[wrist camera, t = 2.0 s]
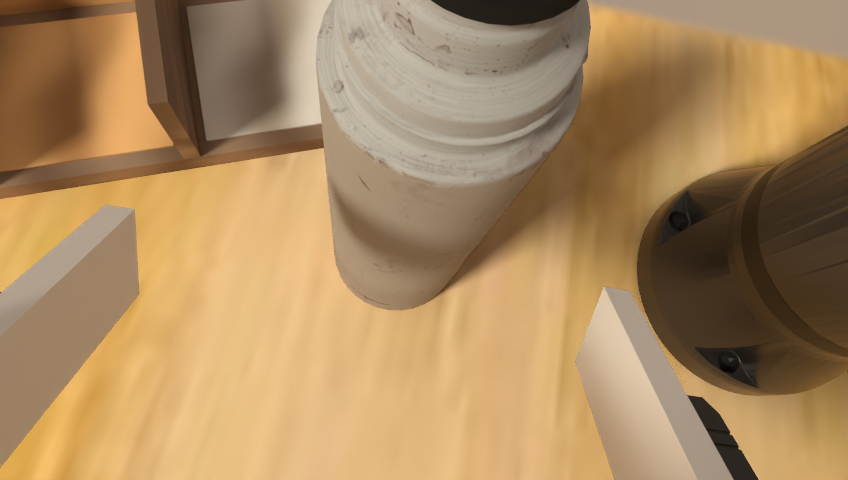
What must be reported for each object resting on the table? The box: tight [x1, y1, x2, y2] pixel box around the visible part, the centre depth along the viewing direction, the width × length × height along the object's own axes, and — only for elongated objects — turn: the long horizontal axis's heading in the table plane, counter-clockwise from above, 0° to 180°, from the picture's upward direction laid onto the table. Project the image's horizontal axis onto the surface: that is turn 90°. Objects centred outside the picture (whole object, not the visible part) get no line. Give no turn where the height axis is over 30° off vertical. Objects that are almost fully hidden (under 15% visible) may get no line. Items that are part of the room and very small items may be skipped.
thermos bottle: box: [316, 0, 591, 310], centre depth 25 cm, size 8×8×28 cm
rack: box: [0, 0, 332, 199], centre depth 36 cm, size 25×13×8 cm, turn 103°
